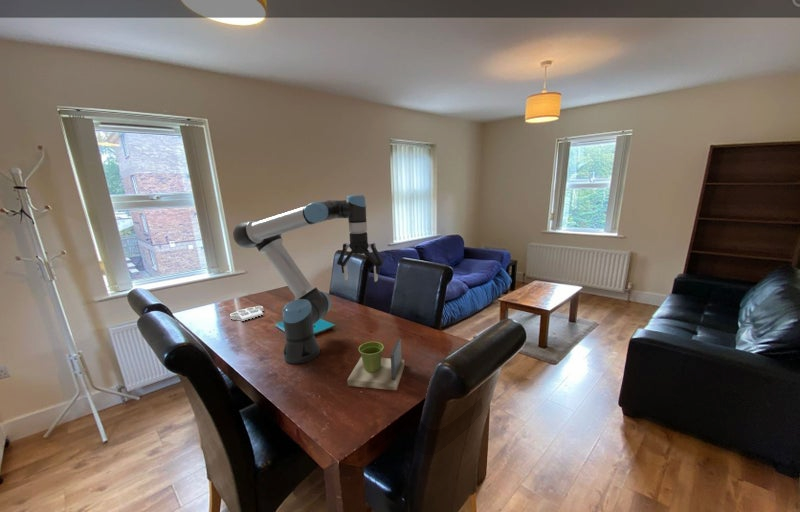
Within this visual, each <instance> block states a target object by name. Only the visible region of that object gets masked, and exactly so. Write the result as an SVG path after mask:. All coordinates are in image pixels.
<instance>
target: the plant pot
mask: <svg viewBox="0 0 800 512" xmlns="http://www.w3.org/2000/svg"><path fill="white" fill-rule="evenodd" d="M384 349H385V346H384V345H383V343H381V342H378V341H367V342H365V343H362V344H360V345H359V347H358V352H359V353H360V357H361V356H362V360H363V364H364V369H365V371H367V372H376V371H378V370H379V369H380V367H381V358H382V356H383V355H382V354H383V351H384Z"/></svg>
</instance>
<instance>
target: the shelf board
mask: <svg viewBox="0 0 800 512" xmlns="http://www.w3.org/2000/svg"><path fill="white" fill-rule="evenodd" d="M401 360H402V362H401V365H400V368H399V371H398V374H397V376H396V379H395V380H392V374H391V357H390V358H388V357H387V358H386V357H381V367H380V369H379V370H378V371H376V372H367V371H365V369H364V364H363V360H362V356H361V355H360V358H359V360H358V361H357V363H356V365H355V366H354V368H353V370H352V371H351V373H350V375H349V376H348V378H347V386H349V387H357V388H358V387H359V388H367V389H368V388H370V389H379V390H380V389H381V390H389V391H391V390H392V391H397V390H398V387H399V384H400V380H401V378H402V376H403V371H404V368H405V364H406V362H405V359H402V358H401Z"/></svg>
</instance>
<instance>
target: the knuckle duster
mask: <svg viewBox="0 0 800 512" xmlns="http://www.w3.org/2000/svg"><path fill="white" fill-rule="evenodd" d="M262 311H264V306H262V305H257V306H251V307H246V308H244V309H242V308H241V309H239V310H237V311H235V312H231V313H230V314H229V316H230V320H231V319H242V321H244V322H246V321H245V320H247V321H249V320H248V319H250V320H253V319H256V318H255V317H257V318H259V317H258V316H260V317H262V316H261V315H263V316H264V312H262ZM252 318H253V319H252Z"/></svg>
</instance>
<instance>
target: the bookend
mask: <svg viewBox="0 0 800 512" xmlns="http://www.w3.org/2000/svg"><path fill="white" fill-rule="evenodd" d="M390 359H391V374H392V380H395V379H396V376H397V374H398V371H399V368H400V365H401V362H402V360H401V359H402V339H401V338H397V339H396V341H395V344H394V346H393V348H392V350H391V353H390Z"/></svg>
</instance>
